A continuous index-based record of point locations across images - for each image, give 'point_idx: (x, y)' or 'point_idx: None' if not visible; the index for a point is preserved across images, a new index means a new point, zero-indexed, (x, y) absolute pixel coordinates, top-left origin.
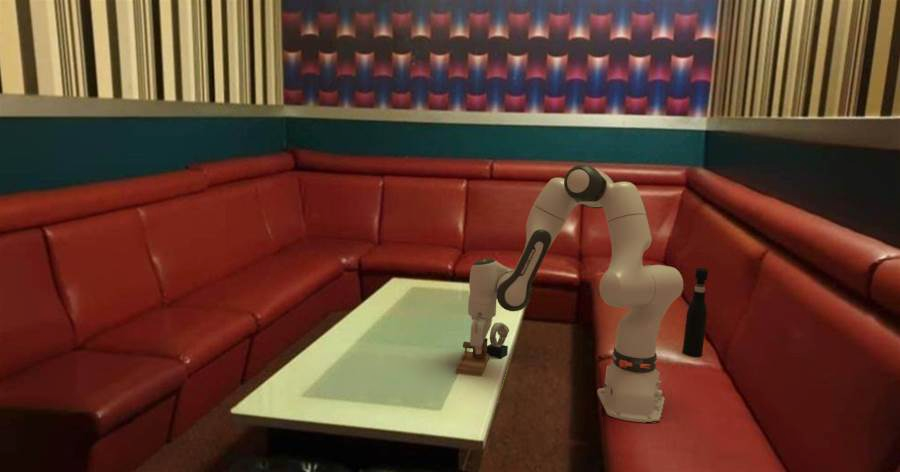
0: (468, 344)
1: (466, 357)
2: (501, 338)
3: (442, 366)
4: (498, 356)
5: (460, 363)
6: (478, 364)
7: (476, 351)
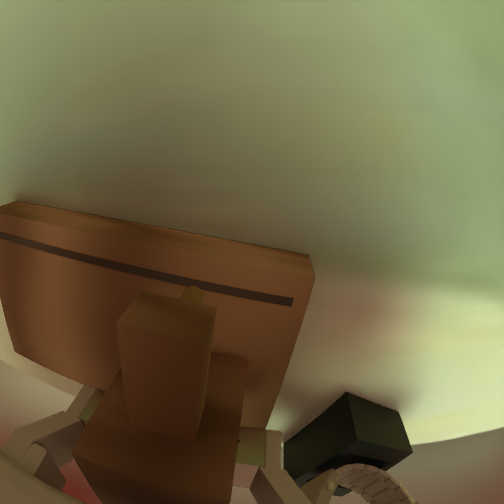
0: (123, 381)
1: (147, 286)
2: (393, 500)
3: (84, 89)
4: (294, 443)
5: (30, 235)
6: (62, 351)
7: (79, 398)
